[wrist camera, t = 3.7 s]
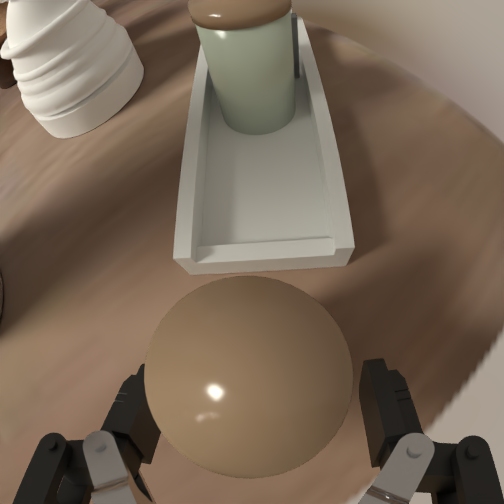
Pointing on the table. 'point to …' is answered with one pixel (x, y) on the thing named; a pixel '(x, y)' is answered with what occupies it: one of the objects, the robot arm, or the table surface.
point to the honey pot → (70, 63)
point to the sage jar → (249, 60)
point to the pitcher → (3, 68)
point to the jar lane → (262, 185)
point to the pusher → (295, 44)
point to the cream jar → (248, 377)
